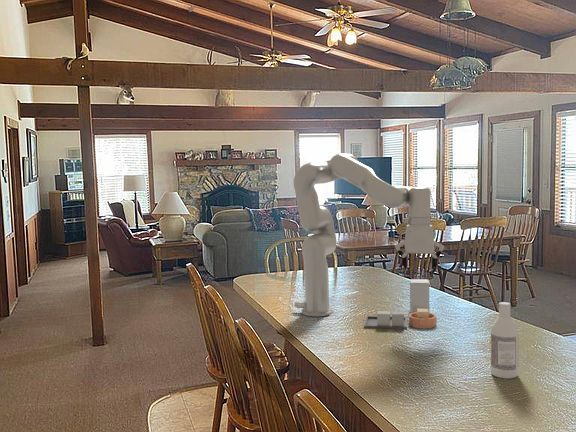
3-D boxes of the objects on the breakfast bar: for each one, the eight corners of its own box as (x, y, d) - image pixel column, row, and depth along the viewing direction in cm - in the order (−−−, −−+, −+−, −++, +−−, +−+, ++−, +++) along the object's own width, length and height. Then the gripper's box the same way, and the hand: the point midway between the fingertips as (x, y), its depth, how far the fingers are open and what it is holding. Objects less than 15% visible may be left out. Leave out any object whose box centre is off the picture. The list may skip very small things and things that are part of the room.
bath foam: (496, 368, 158) (496, 299, 156) (521, 373, 153) (522, 302, 152) (487, 375, 153) (487, 304, 151) (512, 381, 148) (513, 307, 146)
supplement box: (429, 315, 215) (429, 282, 214) (410, 314, 217) (409, 282, 216) (428, 310, 223) (428, 278, 221) (409, 309, 224) (409, 278, 223)
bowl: (409, 328, 198) (409, 318, 198) (409, 321, 208) (408, 311, 207) (437, 329, 196) (437, 319, 196) (435, 322, 206) (435, 312, 205)
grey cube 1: (377, 327, 199) (377, 313, 199) (377, 324, 203) (377, 311, 203) (390, 327, 198) (390, 314, 198) (390, 324, 202) (390, 311, 202)
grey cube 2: (392, 327, 198) (391, 314, 198) (392, 324, 202) (392, 311, 202) (404, 328, 197) (403, 314, 197) (404, 325, 201) (403, 311, 201)
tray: (364, 328, 199) (364, 325, 199) (366, 319, 212) (366, 316, 212) (407, 330, 196) (406, 326, 196) (406, 320, 209) (406, 317, 209)
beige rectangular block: (417, 325, 200) (417, 311, 200) (417, 321, 204) (417, 308, 204) (428, 325, 199) (428, 311, 199) (427, 322, 204) (427, 308, 203)
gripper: (394, 222, 198) (394, 270, 199) (445, 222, 194) (444, 271, 196) (395, 220, 205) (395, 266, 206) (443, 220, 201) (443, 267, 203)
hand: (419, 268), depth 201 cm, fingers open, 9 cm apart
